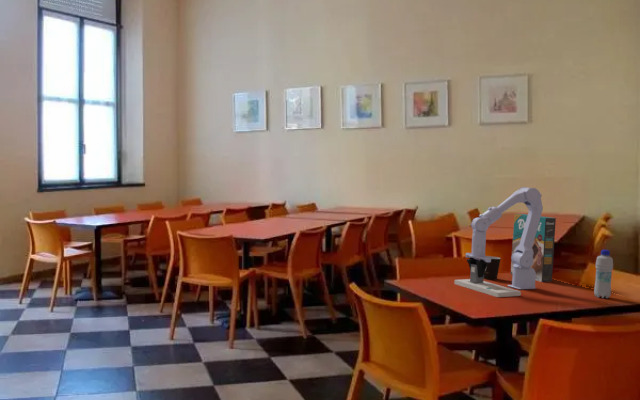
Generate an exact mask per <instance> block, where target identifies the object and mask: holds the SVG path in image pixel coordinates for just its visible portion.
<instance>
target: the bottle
mask: <svg viewBox="0 0 640 400" xmlns="http://www.w3.org/2000/svg"><path fill="white" fill-rule="evenodd" d="M610 254H611V252H610V250H609V249H602V250H601V251H600V255H597V257H596V261H595V269H596V270H595V280H594V281H595V282H594V289H593V290H594V291H593V294H594V296H595V297H596V298H600V297H601V299H604V298H605V299H608V298H610V297H611V296H612V295H611V294H612V273H613V270H614V261H613V258H612V257H611V255H610Z"/></svg>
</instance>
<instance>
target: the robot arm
mask: <svg viewBox="0 0 640 400" xmlns="http://www.w3.org/2000/svg"><path fill="white" fill-rule="evenodd" d="M517 203H518V204H519V203H523V204H525V206H526V208H527V209H528V213H527V215H528V216H527V219H526V223H525V227H524V230H523V234H522V237H521V241H520V244H519V245H518V246H517V247H516V250H515V252H514V253H513V254H512V253H511V256H510V257H511V262H513V263H514V265H513V274H512V277H511V278H512V280H511V284H507V287H508V288H512V289H517V290H534V289H535V290H536V289H537V287H536V280H535V278H536V273H535V270H534V269H533V268H530V267H531V266H532V264H533V254H534V252H533V249H532V246H533V242H534V239H535V235H536V232H537V228H538V224H539V221H540V217H541V216H542V213H543V208H544V207H543V202H542V194H541V192H540V191H539V189H537V188H535V187H525V186H523V187H520V188H518V189H517V190H516V191H514V192H513V193H512V194H511V195H509V196H508V197H507V198H506V199H505V200H504V201H502V202H501V203H500V204H499V205H497V206H490V207H488V208H487V210H486V211H485V212H483V213H482V214H481V213H480V214H479V215H478V216H479V217H475V218H473V219H472V221H471V223H470V226H471V229H472V235H471V252H466V253H465V258H467V259H466V262H467V264H468V266H469V270H470V272H471V264H477V268H478V277H479V278H480V277H483V275H484V272H485V269H486V267H487V266H488V264H489V262H491V258H490V257H487V256H488V255H486V243H487V240H486V239H487V231H488V229H489V227H490V226H491V225H492V224H494V223H495V222H497V221H498V220H499V219H501V217H502V214H503V213H504V212H506V210H508V209H510V208H511V207H513V206H514V205H516V204H517ZM468 258H469V259H468Z"/></svg>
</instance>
